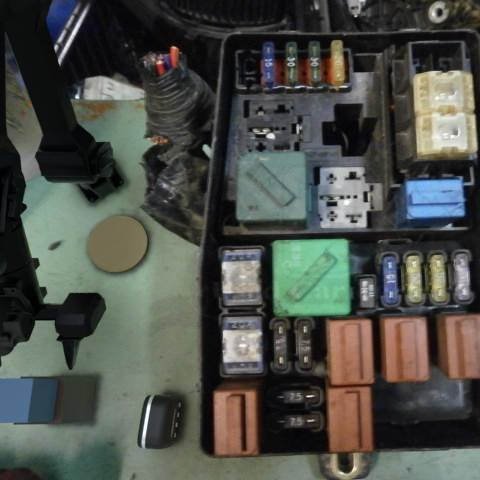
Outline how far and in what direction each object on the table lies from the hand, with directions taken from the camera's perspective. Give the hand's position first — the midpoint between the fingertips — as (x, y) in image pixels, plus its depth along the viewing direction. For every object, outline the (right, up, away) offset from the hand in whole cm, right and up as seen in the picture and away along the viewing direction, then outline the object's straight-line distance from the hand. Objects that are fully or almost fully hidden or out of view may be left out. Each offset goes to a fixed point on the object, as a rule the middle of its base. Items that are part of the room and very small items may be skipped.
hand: (35, 368), depth 69 cm
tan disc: (+4, +15, +19) cm, 25 cm away
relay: (0, -4, +1) cm, 5 cm away
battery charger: (+14, -10, +12) cm, 21 cm away
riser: (-1, -8, +12) cm, 14 cm away
